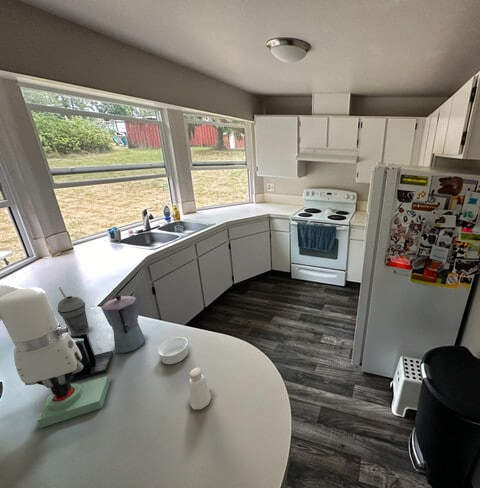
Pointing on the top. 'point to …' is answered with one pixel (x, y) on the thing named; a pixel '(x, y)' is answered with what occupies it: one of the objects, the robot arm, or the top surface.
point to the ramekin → (173, 350)
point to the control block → (75, 402)
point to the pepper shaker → (198, 390)
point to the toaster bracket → (90, 359)
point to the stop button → (65, 396)
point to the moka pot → (124, 323)
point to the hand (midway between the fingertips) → (63, 393)
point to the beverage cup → (73, 313)
